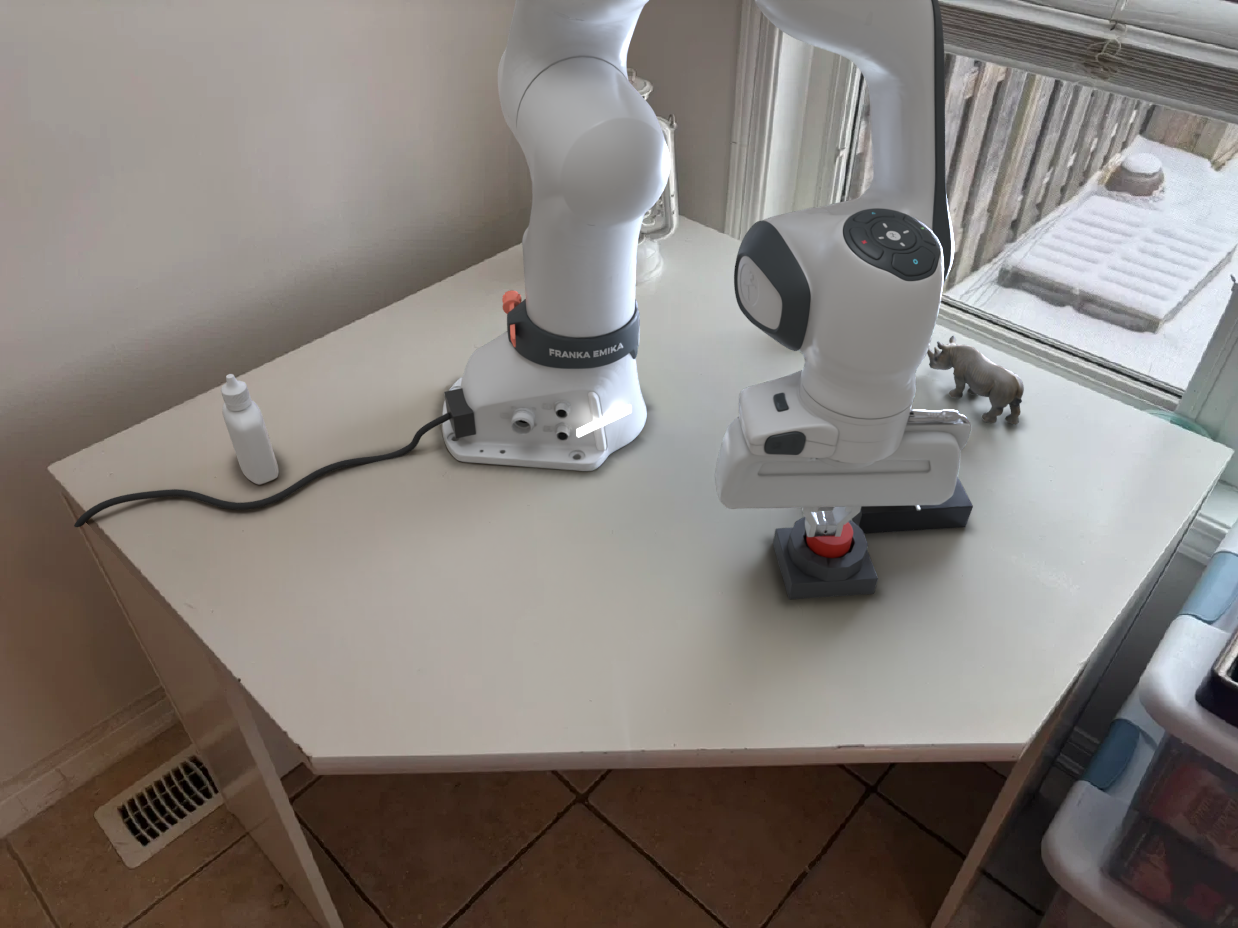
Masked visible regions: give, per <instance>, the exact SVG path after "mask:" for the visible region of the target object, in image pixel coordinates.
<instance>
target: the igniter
mask: <svg viewBox="0 0 1238 928" xmlns="http://www.w3.org/2000/svg"><path fill="white" fill-rule="evenodd" d="M805 519H806V518H805V517H804V516H803V517H801V518H799V519H797V520H796V521H795V522H794V524H793V525H792V527H776V528H775V531H774V536H773V541H772V545H773V549H774V553H775V556H776V560H777V562H778V566H779V570H780V573H781V577H782V581H783V583H784V587H785V591H786V594H787V597H788V600H800V599H801V600H803V599H817V598H832V597H845V596H861V595H873V594H875V591H876V587H877V583H878V580H879V577H878V574H877V572H876V569H875V567H874V564H873V561H872V558H871V556H870V554H869V551H868V547H869V544H868V541H867V538H866V535H865V534H864V533H863V531H862V529H861V528H859V527H858V524H857V523H856V524H855V523H853V522H852V519H851V520H850V521H849V524H850V525H851V526H852V529H853V537H852V541H851V545H850V549H849V551H848V552H847V553H846V554H845V555H843V556H841V557H838V558H825V557H822V556H819V555H817V554H816V553H814V552H813V551H812V550H811V549H810V548H809V546H808V544H807V541H806V537H807V533H806V529H805Z"/></svg>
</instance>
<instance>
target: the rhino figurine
mask: <svg viewBox="0 0 1238 928" xmlns="http://www.w3.org/2000/svg"><path fill="white" fill-rule="evenodd" d="M936 346H937V347H936ZM936 346H934V348H933V349H934V351H933V349H931V348H930V347H929V349H928V352H927V354H926V355H927V356H928V359H929V363H928V365H929V368H930V369H932V370H939V371H940V370H941V371H948V370H951V369H952V368H953V373H952V375H953V381H954V384H955V388H954V389H953V388H952V389H951V390H950V391H949V392H948V395H949V396H950V398H953V399H961V398H963V397H964V391H965V389H966V385H967V386H968V389H967V391H966V392H967V393H968V394H969V395H973V396H980V397H983V398H988V400H989V403H990V405H991V407H990V409H989V411H986V412H984V413H982V414H981V419H982V420H983V422H985V423H989V424H995V423H997V421H998V417H999V416H1001V415H1003V412H1004V409H1005V408H1006V407H1007V406H1008V405H1009V410H1010V413H1009V414H1007V415H1006V416H1005V418H1004V420H1005V422H1006V423H1009V424H1010V425H1014V426H1015V425H1018V424H1019V422H1020V418H1019V417H1020V415H1021V404H1022V402H1023V400H1022V397H1023V396H1024V392H1025V386H1024V382H1023V380H1022V379H1021V377H1020V376H1019V375H1018V374H1017V373H1016V372H1013V371H1012V370H1010V369H1007V368H1005V367H1004V366H1001V365H1000V364H999V365H998V364H996V363H995V362H994V361H992V360H991V359H989V358H988V357H987V356H986V355H984V354H983V353H982V352H980V351H979V350H978V349H977V348H976V347H974V346H972V345H970V344H957V339H956V336H955V335H951V336H950V337H949V340H948V343H947V344H944V343H942V342H940V341H939V340H937V341H936Z"/></svg>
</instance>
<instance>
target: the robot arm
mask: <svg viewBox="0 0 1238 928" xmlns="http://www.w3.org/2000/svg"><path fill="white" fill-rule="evenodd" d="M649 1H650V0H515V4H514V7H513V12H512V16H511V21H510V26H509V30H508V36H507V40H506V41H507V42H506V47H505V49H504V51H503V53H502V55H501V58H500V60H499V63H498V67H497V91H498V99H499V104H500V109H501V113H502V117H503V119H504V121H505V123H506V125H507V127H508V128H509V130H510V132H511V133H512V135H513V137H514V138H515V140H516V142H517V143H518V145H519V147H520V149H521V151H522V153H523V155H524V158H525V161H526V165H527V168H528V171H529V176H530V181H531V192H532V194H531V196H532V200H531V209H530V214H529V215H530V216H529V221H528V226H527V227H526V229H525V231H524V232H523V235H522V239H521V247H522V248H521V249H522V261H523V279H524V293H525V294H524V295H525V298H524V299H523V300H522V295H521V294H520V293H519V292H518V291H517V290H514V289H513V290H512V289H511V290H507V291H505V292H504V294H502V298H501V300H502V305H501V306H502V307H501V308H502V310H503V312H504V313H505V314H506V331H505V332H503V333H501V334H499V335H498V336H497V337H495V338H493V339H491V340H490V341H488V342H487V343H485V344H483V345H482V346H480V347H478V348H477V349H475V350H474V351H473V352H472V353H471V355H470V356H469V358H468V359H467V362H466V365H465V368H464V371H463V374H462V376H460V377H459V378H458V379H457V380H455V382H454V383H453V384H452V385H451V387H450V388H449V389H448V390H446V391H444V392H443V393H444V402H443V406H442V415H440V416H438V417H436V418H435V419H432V420H430V421H429V422H427V423H426V424H424V425H422V426H421V427H420V428H419V429H418V430H417V431H416V432H415V434H414V435H413V437H412V439H411V442H410V443H408V444H407V445H405V446H404V447H402V448H400V449H397V450H395V451H391V452H388V453H384V454H380V455H372V456H364V457H354V458H350V459H344V460H339V461H336V462H333V463H330V464H327V465H325V466H323V467H321V468H318V469H317V470H314V471H312V472H311V473H309V474H308V475H305V476H304V477H303V478H301V479H299V480H298V481H296V482H295V483H293V484H291V485H290V486H288V487H287V488H284V489H283V490H282V491H279V492H278V493H276V494H273V495H270V496H267V497H265V498H262V499H258V500H253V501H243V502H235V501H227V500H222V499H219V498H215V497H213V496H209V495H207V494H204V493H201V492H197V491H193V490H188V489H175V488H173V489H160V490H159V489H158V490H149V491H142V492H141V491H140V492H134V493H133V492H132V493H127V494H124V495H118V496H114V497H112V498H109V499H105V500H104V501H101V502H98V503H97V504H95V505H93V506H92V507H90V508H89V509H87V510H86V511H85V512H84V513H83V514H82V515H80V516H79V518H78V519H76V521H75V523H74V525H73V527H74V528H80V527H82V526H84V525H85V524H86V523H87V522H88V521H89V520H90V519H91V518H92V517H93V516H95V515H97V514H98V513H100V512H102V511H103V510H106V509H108V508H110V507H114V506H117V505H120V504H125V503H129V502H134V501H142V500H149V499H160V498H170V497H171V498H172V497H175V498H176V497H178V498H187V499H192V500H195V501H199V502H202V503H204V504H208V505H212V506H214V507H218V508H221V509H227V510H235V511H246V510H255V509H258V508H264V507H267V506H270V505H272V504H275V503H277V502H280V501H282V500H283V499H286V498H287V497H289V496H291V495H292V494H294V493H296V492H297V491H299V490H300V489H302V488H303V487H305V486H307V485H308V484H309V483H311V482H313V481H315V480H317V479H318V478H320V477H322V476H325V475H326V474H328V473H329V474H330V473H331V472H334V471H337V470H340V469H343V468H348V467H354V466H361V465H367V464H373V463H379V462H383V461H388V460H392V459H397V458H400V457H403V456H405V455H407V454H408V453H410V452H412V451H413V450H415V448H417V446H418V444H419V442H420V440H421V438H422V437H423V436H424V435H426V433H428V432H429V431H430V430H432V429H434V428H436V427H438V426H439V425H440V426H442V427H441V429H442V438H443V441H444V444H445V447H446V449H447V450H448V452H449V453H450V454H451V456H453V458H454V459H455V460H457V461H458V462H463V463H472V464H486V465H498V466H499V465H500V466H512V467H513V466H514V467H526V468H538V469H553V470H564V471H578V472H592V471H595V470H597V469H598V468H600V467H601V465H602V464H603V463H604V462H606V460H607V459H608V457H609V456H610V455H611V454H613V453H615V452H616V451H618V450H620V449H622V448H624V447H625V446H627V445H628V444H630V443H631V442H633V440H635V439H636V438H637V437H638V436H639V435H640V434H641V432H642V430H643V429H644V427H645V425H646V422H647V417H648V410H647V405H646V403H645V400H644V397H643V393H642V390H641V386H640V380H639V374H638V367H637V366H638V365H637V357H638V352H639V347H640V338H641V337H640V336H641V335H640V334H641V314H640V311H639V304H638V301H637V299H636V286H637V284H636V282H637V257H638V255H637V254H638V243H639V238H640V234H641V233H640V232H641V228H642V224H643V220H644V217H645V214H646V213H647V212H649V210H651V209H652V208H653V206H655V205H656V203H657V202H658V201H659V199H660V198H661V196H662V194H663V192H664V191H665V189H666V186H667V184H668V181H669V176H670V171H671V156H670V151H669V148H668V145H667V141H666V138H665V136H664V135H665V134H664V132H663V129H662V127H661V124H660V122H659V119H658V117H657V115H656V112H655V111H654V109H653V108H652V106H651V105H650V103H649V102H648V101H647V100H646V99H645V98H644V97H643V96H642V94H641V93H640V92H639V91H638V90H637V89H636V88H635V87H634V86H633V85H632V83H631V82H630V80H629V76H628V68H627V66H628V65H627V59H628V53H629V47H630V43H631V40H632V38H633V34H634V32H635V28H636V26H637V23H638V20H639V18H640V15H641V13H642V11H643V9H644V7H645V5H646V4H647V3H649ZM753 2H754V3H755V5H756V6H757V8H758V9H759V11H760V12H761V13H762V14H763V16H764V17H765V18H766V19H767V20H768V21H769V23H771V24H772V25H773V26H775V27H776V28H777V29H778V30H780V31H781V32H782V33H784V34H786V35H788V36H789V37H791V38H793V39H795V40H797V41H799V42H802V43H805V44H807V45H810V46H813V47H815V48H818V49H821V50H825V51H828V52H830V53H834V54H836V55H839V56H842V57H843V58H845V59H847V60H849V61H850V62H852V64H854V65H855V66H856V67H857V68H858V70H859V72H860V73H861V74H862V76H863V78H864V80H865V83H866V86H867V90H868V96H869V97H868V99H869V113H870V114H869V115H870V117H869V118H870V137H871V138H870V139H871V155H872V157H871V158H872V179H871V182H870V185H869V186H868V188H867V189H866V190H865V192H863V193H862V194H861V195H860V196H859V197H858V198H853V199H852V198H851V199H848V200H843V201H839V202H835V203H830V204H825V205H821V206H813V207H807V208H802V209H797V210H794V211H789V212H785V213H781V214H776V215H773V216H770V217H767V218H765V219H762V220H758V221H756V222H754V223H753V225H751V226H750V228H749V229H748V231H746V232H745V235H744V236H743V238H742V240H741V242H740V245H739V248H738V251H737V254H736V258H735V264H734V270H733V271H734V272H733V288H734V295H735V299H736V302H737V306H738V308H739V310H740V311H741V313H742V314H743V315H744V317H745V318H746V319H747V320H748V321H749V322H750V323H751V324H753V325H754V326H755V327H757V328H758V329H759V330H760V331H762V332H763V333H765V335H767V336H768V337H770V338H771V339H773V340H774V341H776V342H777V343H779V344H780V345H781V346H783V347H785V348H786V349H789V350H790V351H793V352H800V354H802V356H803V358H804V364H803V367H802V369H800V370H798V371H795V372H793V373H790V374H787V375H784V376H780V377H778V378H775V379H771V380H768V381H764V382H760V383H756V384H752V385H749V386H746V387H744V388H743V389H742V390H740V392H739V394H738V416H737V417H736V418H734V419H733V420H732V421H731V422H730V423H729V425H728V426H727V428H726V430H725V431H724V435H723V438H722V439H721V440H722V441H721V444H720V448H719V450H718V455H717V460H716V463H715V471H714V483H715V489H716V494H717V498H718V500H719V502H720V503H721V504H722V505H723V506H724V507H725V508H726V509H729V510H742V509H743V510H744V509H745V510H747V509H749V510H751V509H793V508H794V509H796V508H797V509H798V508H799V509H801V514H802V515H803V517H805V518H806V519H805V529H806V533H807V536H808V537H835V536H836V537H840V536H841V532H842V529H843V525H845V524H846V523H847V522H849V521H850V520H851V521H852V518H853V517H855V516H856V515H857V514H858V513H859V512H860V510H861V506H905V505H940V504H942V503H944V502H945V501H946V500H948V499H949V498H950V497H952V495H953V493H954V490H955V486H956V482H957V478H959V473H960V472H959V471H960V464H961V451H962V450H963V449H964V448H965V447H966V446H967V444H968V441H969V438H970V436H971V433H972V422H971V421H970V419H969V418H968V417H967V416H965V415H964V414H961V413H959V411H958V410H955V409H948V408H947V409H945V408H944V409H941V410H928V409H912V408H913V407H912V406H913V403H914V401H915V396H916V392H917V377H916V376H917V375H916V374H917V371H918V369H919V367H920V365H921V364H922V363H923V361H924V360H925V358H926V356H927V355H928V354H927V352H928V349H929V348H930V345H931V343H932V339H933V336H934V332H935V329H936V325H937V321H938V316H939V312H940V307H941V303H942V295H943V290H944V289H943V288H944V284H945V283H946V281H947V279H948V276H949V274H950V271H951V268H952V265H953V261H954V256H955V238H954V229H953V225H952V219H951V215H950V214H951V213H950V210H949V204H948V198H947V177H946V176H947V172H946V171H947V170H946V168H947V167H946V165H947V164H946V163H947V162H946V160H947V159H946V155H947V153H946V68H945V66H946V64H945V60H946V59H945V39H944V26H943V18H942V11H941V6H940V2H939V0H753ZM441 424H442V425H441ZM820 508H832V509H831V510H820Z"/></svg>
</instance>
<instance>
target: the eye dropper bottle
mask: <svg viewBox="0 0 1238 928" xmlns="http://www.w3.org/2000/svg"><path fill="white" fill-rule="evenodd" d="M225 379H226V383H224V384H223V385H222V386H221V388H220V393H221V395H222V399H223V401H224V402H223V404H222V409H221V410H222V411H221V412H222V417H223V420H224V424H225V427H226V430H227V432H228V435H229V437H230V440H231V441H230V442H231V443H232V447H233V450H234V453H235V456H236V458H237V462H238V464H239V468H240V470H241V472H242V474H243V476H245V477H246V479H248V480H249V481H251V482H252V483H254V484H256V485H263V484H266V483H268V482H271V481H273V480H275V479H277V478H278V477H279V465H278V462H277V458H276V455H275V451H274V448H273V444H272V441H271V438H270V435H269V432H268V429H267V425H266V423H265V419H264V416H263V413H262V410H261V409H260V407H259V405H258V404H257V403H256V401H254V400H253V399H252V397H251V394H250V391H249V387H248V385H247V383H246V382H245V381H243V380H239V379H237V378H236V376H235V375H234V374H233V373H229V374H227V375H226V376H225Z"/></svg>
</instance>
